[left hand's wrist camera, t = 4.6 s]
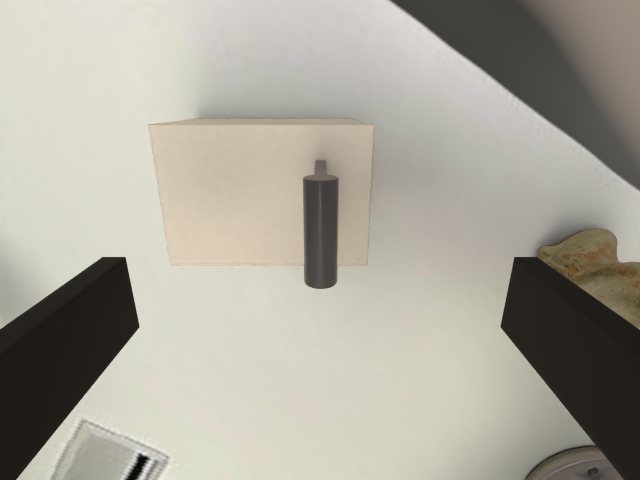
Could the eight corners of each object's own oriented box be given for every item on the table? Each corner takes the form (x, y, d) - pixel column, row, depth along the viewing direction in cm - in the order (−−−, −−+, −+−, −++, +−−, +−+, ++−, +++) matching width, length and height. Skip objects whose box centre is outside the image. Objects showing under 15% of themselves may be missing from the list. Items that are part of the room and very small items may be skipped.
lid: (372, 123, 24) (398, 133, 16) (365, 260, 27) (384, 324, 19) (154, 123, 24) (72, 133, 16) (174, 260, 27) (116, 324, 19)
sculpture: (604, 267, 37) (775, 365, 23) (533, 287, 38) (657, 393, 24) (601, 215, 36) (785, 289, 22) (526, 237, 36) (656, 322, 22)
